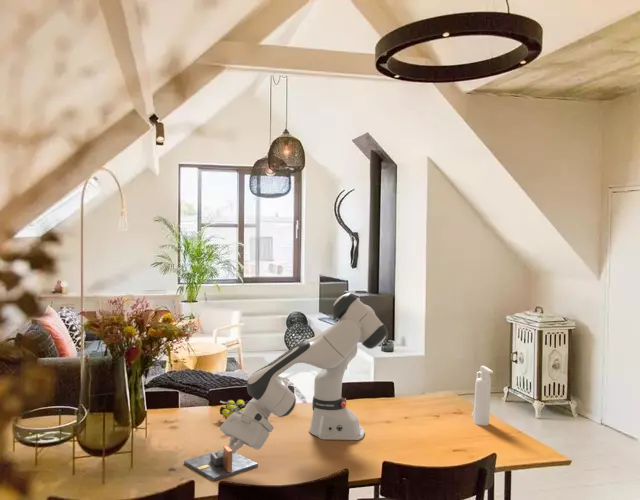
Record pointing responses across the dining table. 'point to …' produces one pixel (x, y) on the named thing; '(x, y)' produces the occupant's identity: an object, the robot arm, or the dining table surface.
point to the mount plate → (218, 472)
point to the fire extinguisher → (482, 397)
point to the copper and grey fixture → (223, 459)
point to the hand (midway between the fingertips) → (229, 451)
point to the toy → (232, 407)
